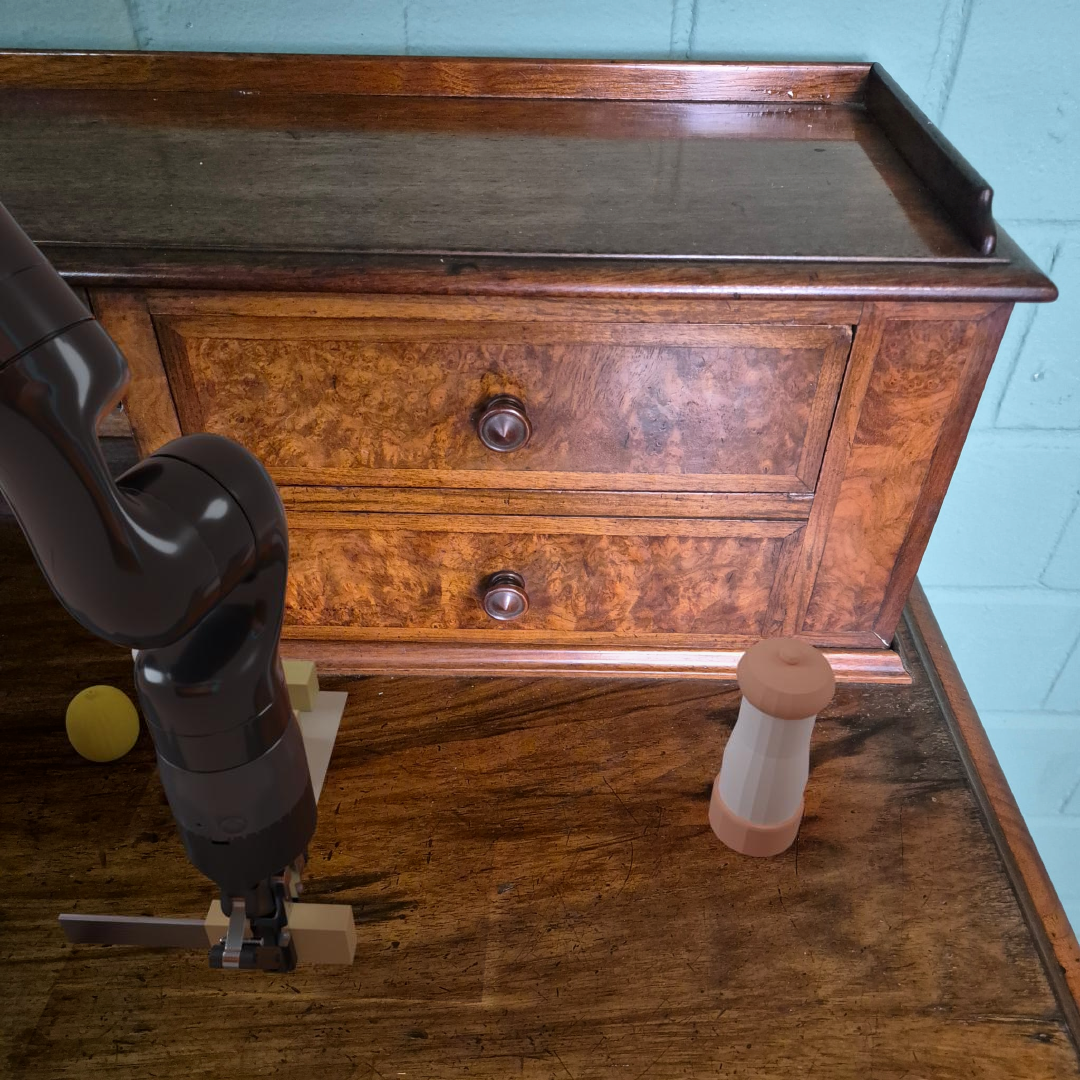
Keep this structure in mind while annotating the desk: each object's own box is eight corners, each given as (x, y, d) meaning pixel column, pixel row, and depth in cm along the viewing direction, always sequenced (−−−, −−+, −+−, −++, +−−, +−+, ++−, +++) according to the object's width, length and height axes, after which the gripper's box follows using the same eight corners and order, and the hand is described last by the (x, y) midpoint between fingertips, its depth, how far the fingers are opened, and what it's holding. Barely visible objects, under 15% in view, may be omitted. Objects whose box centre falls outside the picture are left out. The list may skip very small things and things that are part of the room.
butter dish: (196, 811, 78) (194, 804, 78) (243, 693, 89) (242, 687, 89) (316, 816, 78) (315, 809, 78) (349, 697, 89) (348, 691, 88)
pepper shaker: (726, 864, 75) (764, 693, 64) (696, 791, 81) (725, 622, 69) (812, 849, 76) (863, 678, 65) (776, 778, 82) (817, 610, 71)
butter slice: (263, 710, 87) (256, 682, 84) (271, 686, 89) (266, 659, 87) (312, 712, 86) (307, 684, 84) (319, 688, 89) (314, 661, 87)
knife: (65, 952, 62) (47, 918, 60) (76, 927, 64) (59, 893, 61) (352, 965, 62) (345, 930, 60) (357, 939, 63) (351, 904, 61)
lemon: (69, 756, 83) (42, 692, 78) (129, 722, 86) (106, 658, 81) (100, 792, 80) (73, 726, 75) (160, 755, 83) (138, 690, 78)
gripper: (211, 685, 58) (258, 857, 68) (123, 884, 47) (194, 1053, 57) (333, 690, 58) (361, 861, 68) (273, 890, 47) (318, 1059, 57)
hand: (285, 948), depth 63 cm, fingers closed on knife, 2 cm apart
